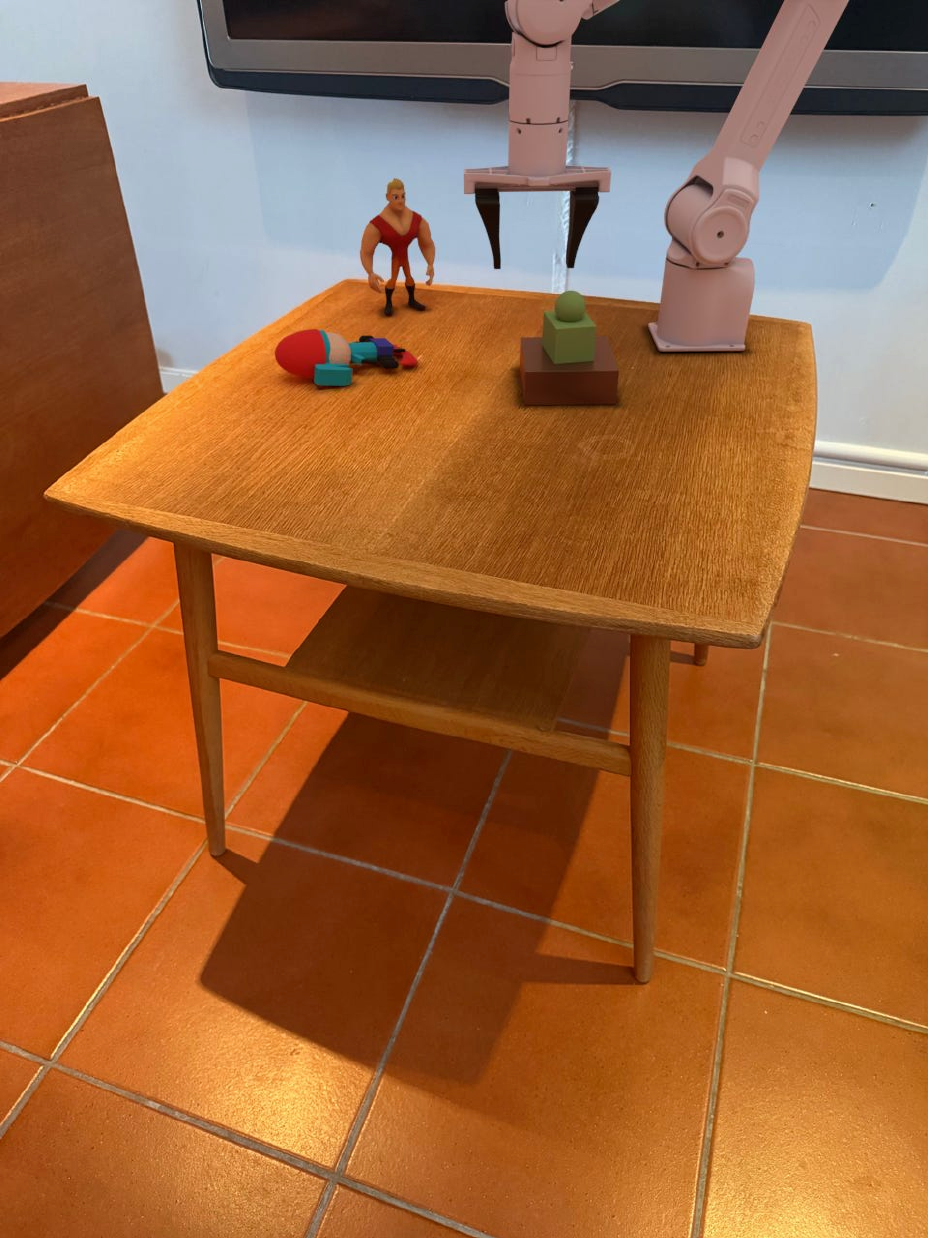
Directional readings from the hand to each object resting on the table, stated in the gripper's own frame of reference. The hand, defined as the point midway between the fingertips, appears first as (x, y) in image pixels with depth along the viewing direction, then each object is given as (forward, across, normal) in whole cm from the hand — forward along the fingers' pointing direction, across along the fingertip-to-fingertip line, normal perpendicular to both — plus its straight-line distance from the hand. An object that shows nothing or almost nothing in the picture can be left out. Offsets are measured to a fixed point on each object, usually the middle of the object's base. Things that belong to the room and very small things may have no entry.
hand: (533, 265), depth 93 cm
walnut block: (+9, +3, -10) cm, 14 cm away
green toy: (+5, +3, -10) cm, 12 cm away
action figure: (+9, -15, +13) cm, 22 cm away
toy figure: (+9, -20, -6) cm, 23 cm away
